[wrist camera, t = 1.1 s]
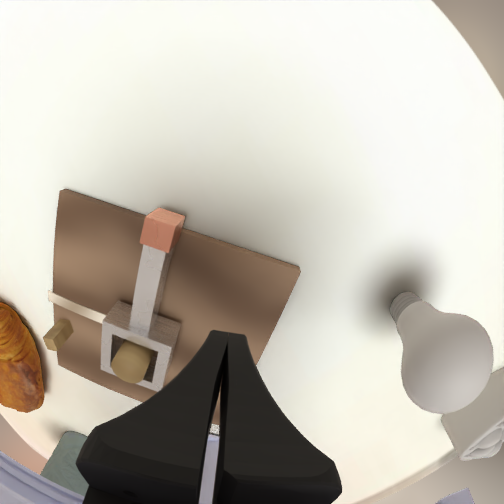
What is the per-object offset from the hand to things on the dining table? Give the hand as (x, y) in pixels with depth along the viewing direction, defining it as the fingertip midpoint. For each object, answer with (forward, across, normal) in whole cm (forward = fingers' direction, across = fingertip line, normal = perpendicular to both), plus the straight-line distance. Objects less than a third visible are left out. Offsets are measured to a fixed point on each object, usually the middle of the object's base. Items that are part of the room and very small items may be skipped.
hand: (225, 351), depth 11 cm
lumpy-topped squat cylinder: (+10, -35, +15) cm, 39 cm away
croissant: (+10, +26, +16) cm, 32 cm away
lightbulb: (+10, -13, +1) cm, 16 cm away
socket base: (+9, +6, +7) cm, 13 cm away
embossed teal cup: (+10, +18, +34) cm, 40 cm away
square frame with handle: (+8, +6, +3) cm, 10 cm away
